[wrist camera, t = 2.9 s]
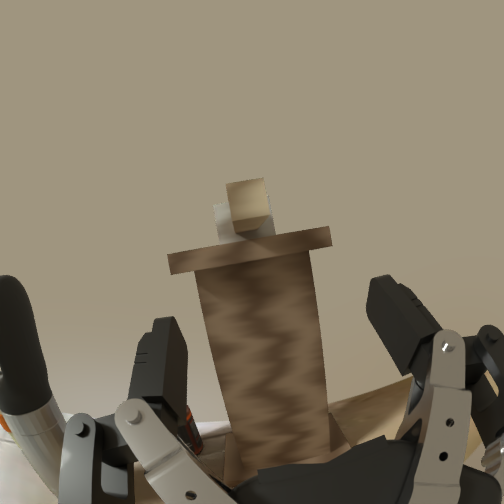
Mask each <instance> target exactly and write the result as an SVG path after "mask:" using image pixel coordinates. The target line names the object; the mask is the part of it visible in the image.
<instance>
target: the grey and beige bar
mask: <svg viewBox="0 0 504 504" xmlns="http://www.w3.org/2000/svg"><path fill="white" fill-rule="evenodd" d="M226 189H227V194H228V201H229V202H227V203H221V204H216V205H213V208H214V214H215V219H216V226H217V231H218V237H219V243H220V245H221V244H227V243H233V242H238V241H244V240H250V239H255V238H261V237H267V236H273V235H276V234H275V229H274V223H273V218H272V212H271V207H270V201H269V196H267V194H266V189H265V184H264V179H263V178H259V179H252V180H246V181H240V182H234V183H228V184H226Z"/></svg>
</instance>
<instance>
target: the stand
mask: <svg viewBox="0 0 504 504" xmlns="http://www.w3.org/2000/svg"><path fill="white" fill-rule="evenodd" d="M329 246H332V240H331V234H330V229H329V226H326V227H320V228H314V229H308V230H302V231H297V232H290V233H284V234H279V235H273V236H267V237H261V238H255V239H250V240H244V241H238V242H233V243H227V244H221V245H216V246H211V247H205V248H199V249H194V250H188V251H183V252H178V253H173V254H167V255H168V262H169V267H170V272H171V275H173V274H179V273H184V272H190V271H194V272H195V277H196V283H197V288H198V293H199V298H200V302H201V308H202V313H203V317H204V322H205V326H206V331H207V335H208V339H209V344H210V348H211V352H212V357H213V361H214V365H215V369H216V373H217V377H218V380H219V384H220V388H221V392H222V396H223V399H224V403H225V407H226V410H227V414H228V417H229V421H230V424H231V428H232V431H233V433H226V440H225V457H224V475H223V482H224V483H226V484H227V485H228V486H229V487H236V486H237V485H238V484H240V483H242V482H243V481H245V480H247V479H249V478H251V477H253V476H256V475H258V472H257V469H264V468H270V467H276V466H281V465H287V464H314V463H326V462H329V461H330V460H332V459H334V458H336V457H338V456H339V455H341V454H343V453H344V452H346V451H348V450H349V449H351V447H350V445H349V443H348V442H347V440H346V438H345V437H344V435H343V433H342V431H341V430H340V428H339V426H338V424H337V423H336V421H335V419H334V418H333V416H332V414H331V413H328V403H327V390H326V379H325V369H324V359H323V349H322V340H321V332H320V324H319V316H318V309H317V302H316V294H315V287H314V282H313V275H312V268H311V262H310V256H309V250H314V249H319V248H324V247H329Z"/></svg>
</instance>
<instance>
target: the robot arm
mask: <svg viewBox="0 0 504 504" xmlns="http://www.w3.org/2000/svg"><path fill="white" fill-rule="evenodd" d="M366 312H367V316H368V319H369V320H370V322H371V324H372V325H373V327H374V329H375V330H376V332H377V334H378V335H379V337H380V339H381V340H382V342H383V344H384V345H385V347H386V349H387V350H388V352H389V354H390V355H391V357H392V359H393V361H394V362H395V364H396V366H397V368H398V370H399V371H400V373H401V375H402V376H404V375H406V374H409V373H412V374H413V376H414V377H413V379H412V383H411V388H410V393H409V398H408V402H407V407H406V411H405V415H404V418H403V421H402V423H401V425H400V427H399V429H398V432H397V434H396V437H395V440H386V438H385V435H382V436H380V437H377V438H375V439H372V440H370V441H367V442H364V443H362V444H359V445H356V446H354V447H353V448H351V449H349V450H348V451H346V452H344V453H343V454H341V455H339V456H338V457H336V458H334V459H332V460H330V461H329V462H326V463H314V464H287V465H281V466H276V467H270V468H264V469H257V472H258V475H256V476H253V477H251V478H249V479H247V480H245V481H243V482H242V483H240V484H238V485H237V486H236V487H235V488H233V489H231V488H230V487H229V486H228V485H227V484H226V483H224V482H223V481H222V480H221V479H220V478H219V477H218V476H217V475H216V474H214V473H213V472H212V471H211V470H210V469H209V468H208V467H207V466H206V465H205V464H204V463H203V462H202V461H201V460H200V459H199V458H198V457H197V456H196V455H195V454H194V453H193V452H192V451H191V450H190V448H189V447H188V446H187V445H186V444H185V443H184V442H183V441H182V439H181V438H180V437H179V436H178V435H177V432H178V425H187V365H188V351H187V345H186V342H185V340H184V337H183V336H182V333H181V331H180V328H179V326H178V324H177V321H176V319H175V318H174V317H173V316H172V317H164V318H156V319H155V320H154V323H153V328H152V332H149V333H145V334H144V335H143V337H142V339H141V340H140V341H139V343H138V347H137V352H136V357H135V361H134V363H135V365H134V367H133V372H132V378H131V383H130V388H129V394H128V399H127V400H126V401H124V402H123V403H122V404H120V405H119V407H118V408H117V410H116V412H115V413H114V414H111V415H108V416H105V417H101V418H97V419H93V418H92V417H91V416H89V415H88V414H85V413H78V414H75V415H74V416H72V417H71V418H70V419H69V421H68V422H67V423H66V421H65V419H64V417H63V415H62V413H61V411H60V409H59V407H58V405H57V403H56V400H55V398H54V396H53V394H52V391H51V389H50V386H49V382H48V374H47V368H46V364H45V360H44V357H43V353H42V350H41V346H40V342H39V338H38V333H37V329H36V324H35V320H34V315H33V311H32V307H31V303H30V301H29V298H28V295H27V293H26V291H25V289H24V287H23V285H22V284H21V283H20V282H19V281H18V280H17V279H16V278H15V277H13V276H10V275H2V276H0V367H1V371H2V375H3V377H2V378H0V411H1V413H2V415H3V417H4V419H5V421H6V423H7V425H8V426H9V428H10V430H11V432H12V434H13V435H14V437H15V439H16V440H17V442H18V444H19V445H20V447H21V449H22V452H23V454H24V455H25V457H26V458H27V460H28V461H29V463H30V464H31V466H32V467H33V469H34V470H35V471H36V473H37V474H38V475H39V477H40V478H41V479H42V481H43V482H44V483H45V485H46V486H47V487H48V488H49V490H50V491H51V492H52V493H53V494H55V495H56V497H57V498H58V504H135V495H134V462H137V461H139V462H140V463H141V465H142V466H143V468H144V469H145V473H144V475H145V478H146V479H147V481H148V482H149V484H150V485H151V486H152V488H153V489H154V490H155V492H156V493H157V494H158V495H159V496H160V498H161V499H162V500H163V501H164V502H165V504H501V501H502V496H504V335H503V333H502V332H501V331H500V330H499V329H498V328H496V327H495V326H492V325H484V326H483V327H481V329H480V330H479V332H478V334H477V335H476V336H469V337H461V336H460V335H459V334H458V333H457V332H455V331H452V330H443V329H442V327H441V326H440V325H439V324H438V322H437V321H436V320H435V318H434V317H433V316H432V315H431V313H430V312H429V311H428V310H427V309H426V307H425V306H423V304H422V302H421V301H420V300H419V299H417V296H416V295H415V294H414V293H413V292H412V291H411V289H409V288H407V287H406V286H404V285H403V284H401V283H400V284H397V283H396V282H395V280H394V279H393V278H392V277H391V276H390V275H383V276H379V277H375V278H372V279H371V281H370V286H369V292H368V298H367V303H366ZM487 369H488V371H489V373H490V374H491V376H492V378H493V379H494V381H495V383H496V385H497V386H498V389H499V394H498V397H497V395H496V394H495V392H494V390H493V388H492V387H491V385H490V383H489V381H488V380H487V378H486V376H485V374H484V373H485V372H486V371H487ZM470 415H471V417H472V419H473V421H474V423H475V425H476V427H477V430H478V432H479V434H480V437H481V439H482V441H483V444H484V446H485V448H486V451H485V455H484V456H483V458H482V460H481V464H482V466H483V467H486V469H485V472H482V471H479V470H477V469H474V468H471V467H468V466H466V465H464V464H463V462H464V457H465V451H466V446H467V439H468V432H469V424H470Z"/></svg>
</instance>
